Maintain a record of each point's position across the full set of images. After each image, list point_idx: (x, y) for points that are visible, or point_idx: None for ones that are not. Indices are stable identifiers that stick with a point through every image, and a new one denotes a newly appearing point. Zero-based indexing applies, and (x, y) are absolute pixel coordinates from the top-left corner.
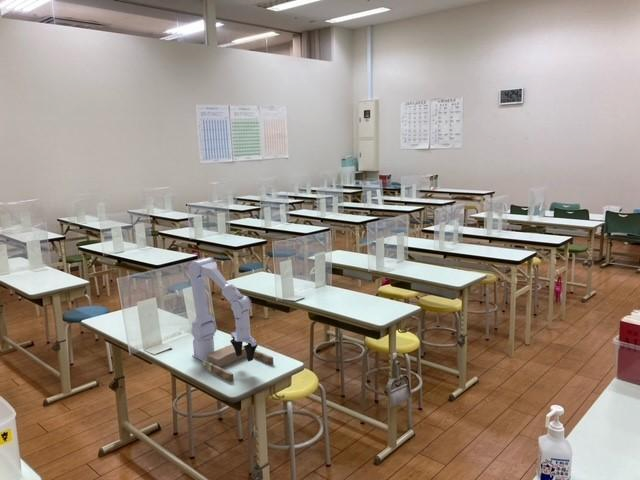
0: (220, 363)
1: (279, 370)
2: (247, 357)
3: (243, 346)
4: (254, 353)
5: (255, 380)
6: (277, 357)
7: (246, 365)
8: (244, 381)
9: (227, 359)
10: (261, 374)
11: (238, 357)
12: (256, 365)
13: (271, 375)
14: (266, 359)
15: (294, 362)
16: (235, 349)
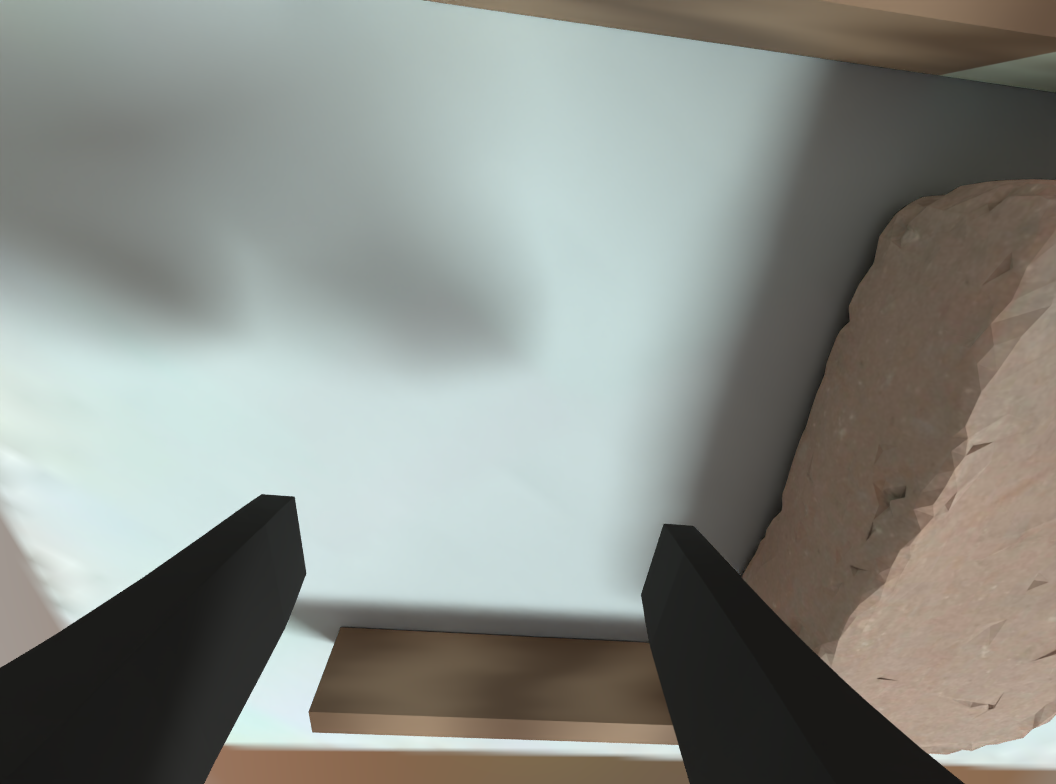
0: (929, 257)
1: None
2: (209, 554)
3: None
4: (639, 694)
5: (39, 255)
6: None
7: (567, 495)
8: (113, 108)
9: (873, 418)
10: (186, 433)
11: (773, 559)
12: (463, 550)
13: (73, 479)
14: (412, 671)
15: None
16: (772, 665)
